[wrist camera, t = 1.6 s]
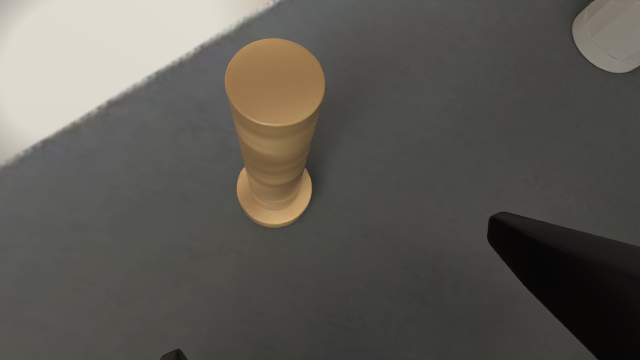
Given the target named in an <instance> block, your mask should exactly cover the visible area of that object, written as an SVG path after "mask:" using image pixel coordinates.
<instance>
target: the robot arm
mask: <svg viewBox="0 0 640 360" xmlns="http://www.w3.org/2000/svg"><path fill="white" fill-rule="evenodd" d="M487 239H488V242H489V244H490V245H491V246H492V248H493V249H494V250H495V251H496V252H497V254H498V255H499V256H500V257H501V259H502V260H503V261H504V262H505V263H506V265H507V266H508V267H509V268H510V269H511V271H512V272H513V273H514V274H515V275H516V277H517V278H518V279H519V280H520V281H521V282H522V284H523V285H524V286H525V287H526V288H527V289H528V290H529V291H530V292H531V293H532V294H533V295H534V296H535V297H536V298H537V299H538V300H539V301H540V302H541V303H542V304H543V305H544V306H545V307H546V308H547V309H548V310H549V311H550V312H551V313H552V314H553V315H554V316H555V317H556V318H557V319H558V320H559V321H560V322H561V323H562V324H563V325H564V326H565V327H566V328H567V329H568V330H569V331H570V332H571V333H572V334H573V335H574V336H575V337H576V338H577V339H578V340H579V341H580V342H581V343H582V344H583V345H584V346H585V347H586V348H587V349H588V350H589V351H590V352H591V353H592V354H593V355H594V356H595V357H596V358H597V359H598V360H640V247H639V246H635V245H631V244H627V243H623V242H619V241H616V240H612V239H608V238H604V237H600V236H596V235H593V234H589V233H585V232H581V231H577V230H573V229H570V228H566V227H562V226H558V225H554V224H550V223H547V222H543V221H539V220H535V219H531V218H527V217H524V216H520V215H516V214H512V213H508V212H499V213H497V214H494V215H492V216H491V217H490V218H489V223H488V233H487ZM160 360H187V358H186V356H185V355H184V353H183V352H182V351H181V350H180V349H176V350H173V351H171V352H169V353H166V354H164V355H163V356H162V357H161V358H160Z"/></svg>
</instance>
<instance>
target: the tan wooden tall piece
mask: <svg viewBox="0 0 640 360" xmlns="http://www.w3.org/2000/svg"><path fill="white" fill-rule="evenodd" d="M225 88H226V93H227V97H228V101H229V105H230V109H231V113H232V117H233V121H234V125H235V129H236V133H237V137H238V141H239V145H240V149H241V153H242V157H243V161H244V165H245V167H244V168H243V170H242V171H241V173H240V175H239V178H238V182H237V195H238V199H239V202H240V204H241V207H242V209H243V211H244V212H245V214H246V215H247V216H248V217H249V218H250V219H251V220H252V221H253V222H255V223H256V224H258V225H261V226H263V227H268V228H281V227H285V226H288V225H290V224H292V223H294V222H295V221H297V220H298V219H299V218H300V217H301V216H302V215H303V213H304V212H305V210H306V208H307V206H308V204H309V201H310V198H311V194H312V183H311V179H310V176H309V173H308V172H307V170H306V168H305V165H306V161H307V158H308V154H309V150H310V146H311V143H312V139H313V135H314V132H315V128H316V124H317V120H318V117H319V113H320V109H321V105H322V102H323V98H324V94H325V88H326V82H325V76H324V72H323V70H322V67H321V65H320V64H319V62H318V60H317V59H316V58H315V57H314V55H313V54H312V53H311V52H309V51H308V50H307V49H306V48H304V47H302V46H301V45H299V44H297V43H295V42H292V41H289V40H284V39H277V38H269V39H262V40H258V41H255V42H252V43H250V44H248V45H246V46H245V47H243V48H242V49H241V50H239V51H238V52H237V53H236V54H235V56H234V57H233V58H232V60H231V61H230V63H229V65H228V67H227V70H226V74H225Z"/></svg>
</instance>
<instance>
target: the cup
mask: <svg viewBox="0 0 640 360" xmlns="http://www.w3.org/2000/svg"><path fill="white" fill-rule="evenodd" d="M572 33H573V38H574V41H575V44H576V46H577V47H578V49H579V50H580V52H581V53H582V54H583V56H584V57H585V58H586V59H587V60H589V61H590V62H591V63H592V64H594V65H595V66H597V67H599V68H601V69H603V70H606V71H609V72H613V73H625V72H629V71H631V70H633V69H635V68H636V67H638V66H640V0H595V1H593V2H592V3H591V4H590V5H588V6H587V7H586V8H585V9H584V10H583V11H582V12H581V13H579V14H578V15H577V17H576V18H575V20H574V22H573V26H572Z"/></svg>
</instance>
